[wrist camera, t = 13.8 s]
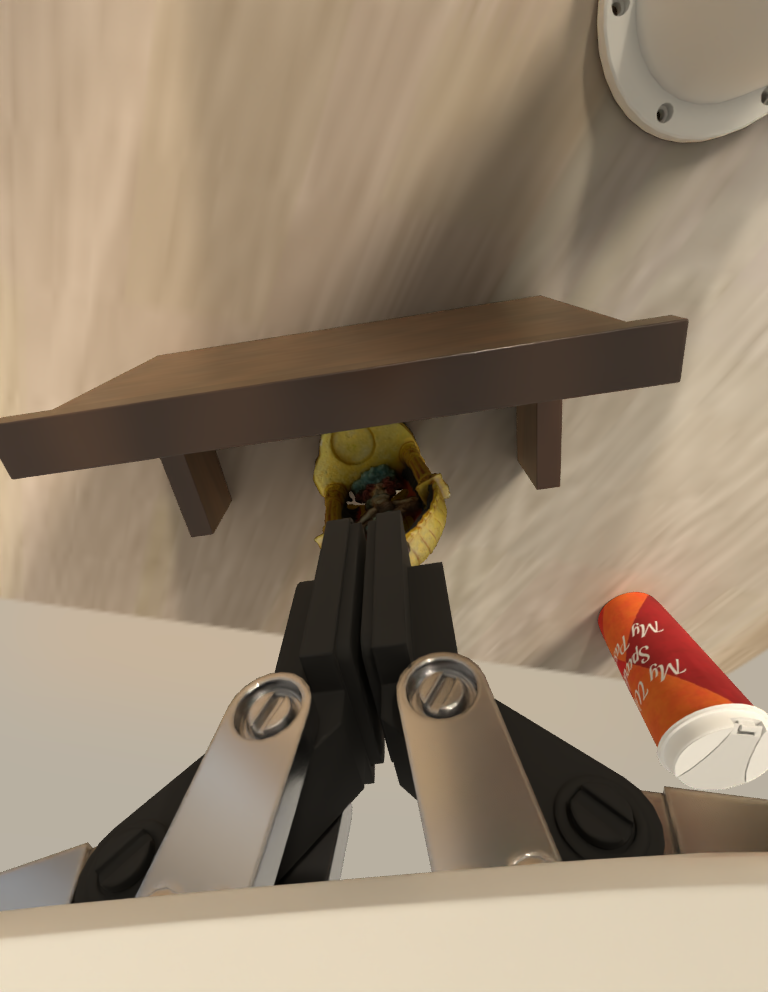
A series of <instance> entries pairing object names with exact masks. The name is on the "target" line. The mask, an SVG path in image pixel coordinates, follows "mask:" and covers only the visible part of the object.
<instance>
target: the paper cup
mask: <svg viewBox="0 0 768 992" xmlns="http://www.w3.org/2000/svg"><path fill="white" fill-rule="evenodd" d="M598 624H599V628H600V630H601V633H602V635H603V637H604V639H605V641H606V644H607V646H608V648H609V650H610V652H611V654H612V656H613V658H614V660H615V662H616V664H617V666H618V668H619V670H620V673H621V675H622V677H623V679H624V681H625V683H626V685H627V687H628V689H629V691H630V693H631V695H632V697H633V699H634V701H635V703H636V705H637V707H638V709H639V711H640V713H641V715H642V717H643V719H644V721H645V723H646V725H647V727H648V729H649V731H650V734H651V736H652V738H653V740H654V742H655V743H656V746H657V756H658V760H659V761H660V763H661V765H662V766H663V767H664V768H665V769H666V770H668V771H669V772H670V773H672V774H674V775H675V776H676V777H677V778H678V779H680V781H682V782H683V783H684V784H685V785H687V786H689V787H691V788H696V789H702V790H721V789H727V788H731V787H734V786H738V785H741V784H745V783H747V782H750V781H752V780H753V779H755V778H757V777H759V776H760V775H762V774H763V773H764V772H766V771H767V770H768V714H767V713H766V712H765V711H763V710H761V709H759V708H758V707H754V706H753V704H752V703H751V702H750V701H749V700H748V699H747V698H746V697H745V696H744V695H743V694H742V692H741V691H740V690H739V689H738V688H737V687H736V686H735V685H734V684H733V683H732V681H731V680H730V679H729V678H728V677H727V676H726V675H725V674H724V673H723V672H722V670H721V669H720V668H719V667H718V666H717V665H716V664H715V663H714V662H713V661H712V660H711V658H710V657H709V656H708V655H707V654H706V653H705V652H704V651H703V650H702V649H701V647H700V646H699V645H698V644H697V643H696V642H695V641H694V640H693V639H692V638H691V637H690V635H689V634H688V633H687V632H686V631H685V630H684V629H683V628H682V627H681V626H680V625H679V624H678V622H677V621H676V620H675V619H674V618H673V617H672V616H671V615H670V614H669V613H668V612H667V611H666V610H665V609H664V608H663V606H662V605H661V604H660V603H659V602H658V601H656V600H655V599H654V598H653V597H652V596H650V595H648V594H645V593H640V592H631V593H626V594H622V595H620V596H617V597H615V598H614V599H612V600H611V601H609V602H608V603H607V604H606V605H605V606H604V607H603V608H602V610H601V612H600V614H599V617H598Z"/></svg>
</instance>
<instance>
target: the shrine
mask: <svg viewBox="0 0 768 992" xmlns="http://www.w3.org/2000/svg"><path fill="white" fill-rule="evenodd" d="M319 443H320V445H319V456H318V457H317V459H316V461H315V465H316V466H315V469H314V475H313V481H314V483H315V485H316V487H317V489H318V490H319V493H320V494H321V495H322V496H323V497H324V498H325V506H326V513H325V520H324V521H325V526H326V522H327V521H331V520H338V519H344V518H352V520H353V523H360V522H361V523H362V526H363V529H364V534H365V538H366V541H367V525H368V521H373V520H376V514H377V513H383V512H390V511H396V510H400V511H401V515H402V520H403V525H404V530H405V536H406V541H407V546H408V552H409V557H410V562H411V566H418V565H420V564H421V563H422V562H423V561H425V560H426V559H427V557H428V556H429V554H431V553H432V552H433V550H434V548H435V547H436V546H437V543H438V541H439V539H440V537H441V535H442V532H443V529H444V527H445V523H446V517H447V509H446V505H445V501H444V499H446V498H449V497H450V494H451V493H450V492H449V487H448V485H447V483H445V481H444V480H443V479H442V475H441V474H440V473H439V474H437V473H434V474H431V472H430V471H429V468H428V467H427V466H426V464H425V460H424V459H423V458H422V456H421V455H420V449H419V447H418V444H417V442H416V440H415V437H414V435H413V433H412V432H411V430H410V429H409V428H408V427H407V425H406V424H405V423H404V422H403V423H396V424H389V425H383V426H376V427H369V428H362V429H355V430H348V431H341V432H335V433H328V434H321V439H320V441H319ZM402 489H403V490H402ZM396 490H402V491H401V492H399V493H398V494H397V495H396ZM350 491H351V492H352V493H353V494H354V496H355V501H356V502H358V503H361V504H362V503H365V505H353V504H349V505H348V504H347V501H349V502H352V501H353V500H352V498H351V497H350V496H349V492H350ZM325 526H324V527H323V530H322V531H323V534H321V535H319V536H317V537H316V538H315V539H314V541H315V542H317V543H318V545H319V547H320V549H321V545H322V541H323V536H324V531H325Z"/></svg>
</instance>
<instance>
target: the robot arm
mask: <svg viewBox="0 0 768 992" xmlns="http://www.w3.org/2000/svg"><path fill="white" fill-rule="evenodd" d="M612 6H615V7H616V8H617V15H616V16H615V15H614V13H613V12H612ZM597 31H598V46H599V54H600V59H601V63H602V67H603V71H604V75H605V79H606V81H607V83H608V85H609V88H610V90H611V92H612V94H613V97H614V99H615V101H616V102H617V103H618V105H619V106H620V107H621V109H622V110H623V111H624V113H625V114H626V116H627V117H628V118H629V119H630V120H632V121H633V122H634V123H635V124H636V125H638V126H639V127H640V128H641V129H642V130H644V131H646V132H648V133H650V134H652V135H654V136H656V137H658V138H660V139H664V140H669V141H675V142H680V143H686V142H703V141H706V140H710V139H714V138H718V137H721V136H724V135H727V134H730V133H732V132H735V131H737V130H740V129H742V128H745V127H747V126H748V125H750V124H752V123H753V122H755V121H757V120H758V119H760V118H762V117H763V116H765V115H767V114H768V0H599V3H598V16H597ZM761 96H762V99H761ZM658 111H659V113H660V116H661V117H660V120H659V121H658V120H657V112H658ZM385 740H386V744H387V748H388V751H389V755H390V758H391V761H392V762H394V766H395V770H396V773H397V776H398V780H399V783H400V785H401V786H402V787H403V788H404V789H405V790H406V791H407V792H408V793H410V794H411V795H412V796H413V797H414V798H415V799H416V800H417V801H418V806H419V811H420V816H421V821H422V826H423V831H424V835H425V841H426V845H427V850H428V856H429V860H430V865H431V870H432V872H428V873H416V874H404V875H392V876H380V877H368V878H357V879H344V880H340V877H341V872H342V867H343V861H344V856H345V851H346V846H347V841H348V836H349V830H350V825H351V820H352V804H351V802H352V801H353V800H354V799H355V798H356V797H357V796H358V794H359V793H360V792H361V791H362V790H363V789H364V784H371V783H374V777H375V776H374V775H375V764H380V763H383V762H384V753H385V751H384V749H385V747H384V746H385ZM0 992H768V800H766V799H759V798H751V797H743V796H736V795H728V794H720V793H712V792H705V791H697V790H689V789H681V788H673V787H666V786H665V787H664V791H663V793H657V792H650V791H642V790H640V789H638V788H637V787H636V786H634V785H633V784H632V783H630V782H629V781H628V780H627V779H625V778H624V777H623V776H621V775H619V774H618V773H616V772H614V771H613V770H611V769H609V768H608V767H606V766H604V765H603V764H601V763H599V762H598V761H596V760H594V759H593V758H591V757H590V756H588V755H586V754H585V753H583V752H581V751H580V750H578V749H576V748H575V747H573V746H572V745H570V744H568V743H567V742H565V741H563V740H562V739H560V738H558V737H557V736H555V735H553V734H552V733H550V732H549V731H547V730H545V729H543V728H542V727H540V726H539V725H537V724H535V723H534V722H532V721H531V720H529V719H527V718H526V717H524V716H522V715H520V714H519V713H517V712H516V711H514V710H512V709H511V708H509V707H508V706H506V705H504V704H502V703H501V702H499V701H497V700H496V699H494V697H493V694H492V692H491V689H490V687H489V684H488V682H487V680H486V677H485V675H484V674H483V672H482V671H481V669H480V668H479V666H478V665H477V664H475V663H474V662H473V661H472V660H470V659H469V658H467V657H465V656H462V655H460V654H458V652H457V646H456V640H455V634H454V628H453V622H452V617H451V611H450V605H449V599H448V593H447V587H446V581H445V576H444V570H443V564H442V562H439V563H432V564H425V565H418V566H411V562H410V557H409V552H408V546H407V541H406V536H405V530H404V525H403V520H402V515H401V511H400V510H396V511H390V512H383V513H377V514H376V520H373V521H368V525H367V541H366V538H365V534H364V529H363V526H362V523H361V522H360V523H353V520H352V518H344V519H338V520H331V521H327V522H326V526H325V531H324V536H323V541H322V545H321V550H320V555H319V560H318V565H317V570H316V575H315V580H312V581H305V582H300V583H299V584H298V585H297V587H296V590H295V594H294V598H293V602H292V606H291V610H290V614H289V618H288V622H287V626H286V630H285V634H284V638H283V642H282V646H281V650H280V654H279V658H278V662H277V665H276V670H275V673H270V674H267V675H265V676H262V677H259V678H257V679H256V680H254V681H252V682H251V683H249V684H248V685H246V686H245V687H244V688H243V689H242V690H241V691H240V692H239V693H238V694H237V695H236V696H235V697H234V699H233V700H232V702H231V703H230V705H229V706H228V708H227V710H226V712H225V714H224V716H223V718H222V720H221V722H220V725H219V727H218V729H217V731H216V733H215V735H214V737H213V739H212V741H211V743H210V745H209V747H208V749H207V751H206V753H205V754H204V755H203V756H202V757H201V758H199V759H198V760H197V761H195V762H194V763H193V764H192V765H191V766H189V767H188V768H187V769H186V770H185V771H183V772H182V773H181V774H180V775H179V776H177V777H176V778H175V779H174V780H172V781H171V782H170V783H169V784H168V785H166V786H165V787H164V788H163V789H161V790H160V791H159V792H158V793H157V794H155V796H153V797H152V798H151V799H149V800H148V801H147V802H146V803H144V805H142V806H141V807H140V808H138V809H137V810H136V811H135V812H134V813H132V814H131V815H130V816H129V817H128V818H126V819H125V820H124V821H123V822H122V823H120V824H119V825H118V826H117V827H115V828H114V829H113V830H112V831H111V832H110V833H109V834H108V835H107V836H106V837H105V838H104V839H103V840H102V841H101V842H100V843H99V844H98V846H97V847H95V848H92V847H91V845H90V844H89V843H85V844H82V845H79V846H76V847H73V848H70V849H68V850H65V851H61V852H59V853H56V854H53V855H50V856H47V857H44V858H41V859H38V860H35V861H32V862H30V863H27V864H24V865H21V866H18V867H15V868H12V869H9V870H6V871H3V872H0Z"/></svg>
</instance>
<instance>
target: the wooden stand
mask: <svg viewBox="0 0 768 992" xmlns="http://www.w3.org/2000/svg"><path fill="white" fill-rule="evenodd" d="M687 328H688V319H686V318H681V317H677V316H673V315H668V316H661V317H655V318H648V319H642V320H635V321H629V322H625V321H622V320H618V319H615V318H612V317H609V316H606V315H602V314H599V313H596V312H593V311H589V310H586V309H583V308H580V307H576V306H573V305H570V304H567V303H563V302H560V301H557V300H554V299H551V298H547V297H544V296H541V295H540V296H534V297H528V298H521V299H515V300H509V301H502V302H496V303H490V304H483V305H477V306H470V307H464V308H458V309H451V310H445V311H439V312H432V313H426V314H420V315H413V316H407V317H401V318H394V319H388V320H382V321H375V322H369V323H363V324H356V325H350V326H343V327H337V328H331V329H324V330H318V331H312V332H305V333H299V334H293V335H286V336H280V337H274V338H267V339H261V340H255V341H248V342H242V343H236V344H229V345H223V346H216V347H210V348H204V349H197V350H191V351H185V352H178V353H172V354H166V355H159V356H156V357H154V358H152V359H150V360H149V361H147V362H145V363H143V364H141V365H139V366H137V367H135V368H133V369H131V370H129V371H127V372H125V373H123V374H121V375H119V376H117V377H115V378H113V379H111V380H110V381H108V382H106V383H104V384H102V385H100V386H98V387H96V388H94V389H92V390H90V391H88V392H86V393H84V394H82V395H80V396H78V397H76V398H74V399H72V400H71V401H69V402H67V403H65V404H63V405H61V406H59V407H57V408H55V409H53V410H48V411H41V412H35V413H28V414H22V415H15V416H9V417H2V418H0V459H1V461H2V463H3V464H4V466H5V468H6V470H7V472H8V473H9V475H10V477H11V478H12V479H19V478H26V477H33V476H40V475H47V474H53V473H60V472H67V471H74V470H81V469H88V468H95V467H101V466H108V465H115V464H122V463H129V462H136V461H143V460H149V459H156V458H160V459H161V461H162V464H163V466H164V469H165V471H166V474H167V477H168V479H169V482H170V484H171V487H172V489H173V492H174V494H175V497H176V499H177V502H178V505H179V507H180V510H181V512H182V515H183V517H184V520H185V522H186V525H187V527H188V530H189V532H190V535H191V537H196V536H204V535H211V534H213V533H214V532H215V530H216V528H217V526H218V525H219V523H220V521H221V519H222V517H223V516H224V514H225V512H226V510H227V508H228V507H229V505H230V503H231V501H232V500H231V497H230V494H229V491H228V488H227V485H226V482H225V479H224V476H223V473H222V470H221V467H220V464H219V461H218V458H217V455H216V452H215V450H218V449H225V448H232V447H239V446H245V445H252V444H259V443H266V442H273V441H280V440H287V439H293V438H300V437H307V436H314V435H321V434H328V433H335V432H341V431H348V430H355V429H362V428H369V427H376V426H383V425H389V424H396V423H403V422H410V421H417V420H424V419H431V418H437V417H444V416H451V415H458V414H465V413H472V412H479V411H485V410H492V409H499V408H506V407H513V406H516V408H517V458H518V462H519V463H520V465H521V466H522V468H523V469H524V471H525V472H526V474H527V475H528V477H529V479H530V480H531V482H532V483H533V485H534V486H535V488H536V489H537V490H539V489H547V488H554V487H560V475H561V435H562V399H568V398H575V397H581V396H588V395H595V394H602V393H609V392H616V391H623V390H629V389H636V388H643V387H650V386H657V385H664V384H671V383H677V382H680V379H681V372H682V365H683V357H684V350H685V343H686V336H687Z"/></svg>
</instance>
